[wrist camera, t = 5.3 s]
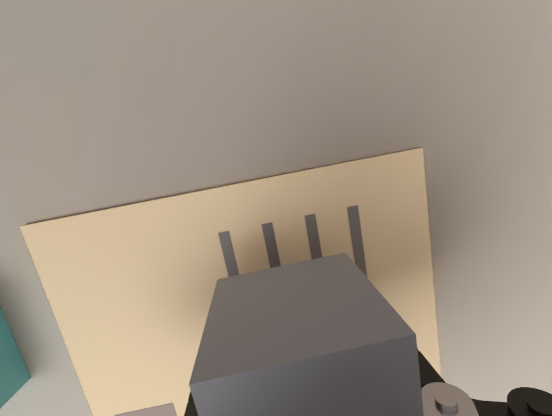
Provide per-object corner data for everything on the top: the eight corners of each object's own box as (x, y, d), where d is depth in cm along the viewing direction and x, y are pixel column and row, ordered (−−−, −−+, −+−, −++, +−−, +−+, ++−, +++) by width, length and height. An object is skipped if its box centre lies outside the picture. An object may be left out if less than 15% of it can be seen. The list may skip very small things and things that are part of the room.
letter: (25, 224, 13) (19, 226, 13) (419, 147, 13) (423, 147, 13) (119, 469, 16) (116, 476, 15) (440, 400, 16) (443, 405, 16)
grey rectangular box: (217, 279, 11) (188, 384, 6) (345, 252, 11) (416, 334, 6) (254, 425, 13) (255, 603, 8) (366, 399, 13) (437, 557, 8)
